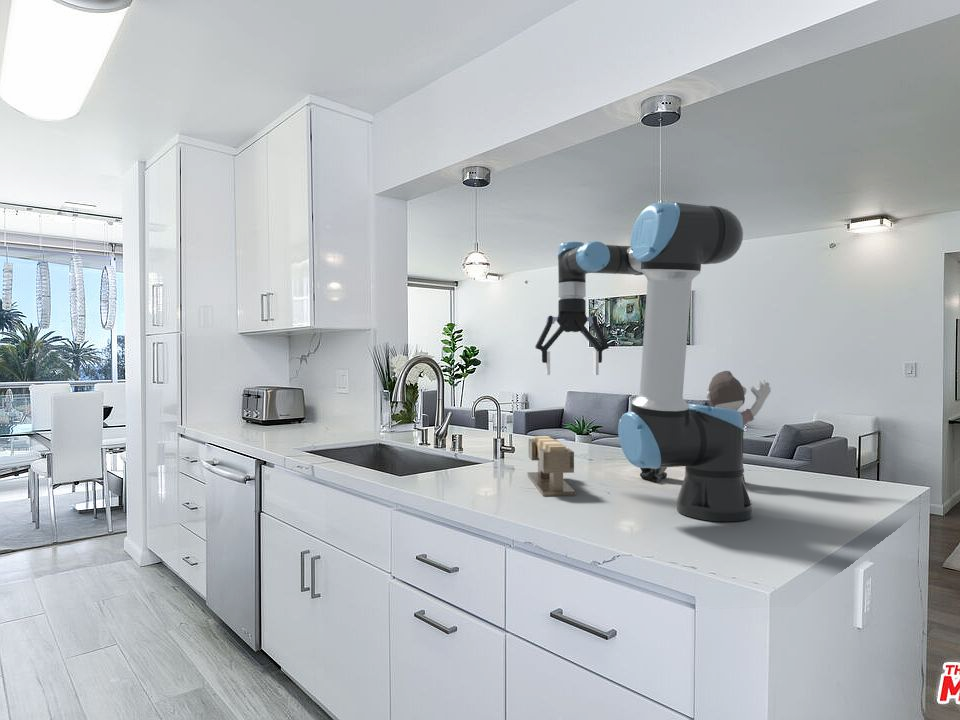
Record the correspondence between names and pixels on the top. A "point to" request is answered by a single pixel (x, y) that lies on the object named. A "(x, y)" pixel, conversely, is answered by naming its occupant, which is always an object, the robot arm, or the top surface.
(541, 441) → the rail
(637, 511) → the top surface
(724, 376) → the figurine
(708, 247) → the robot arm
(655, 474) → the figurine
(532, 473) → the bracket
